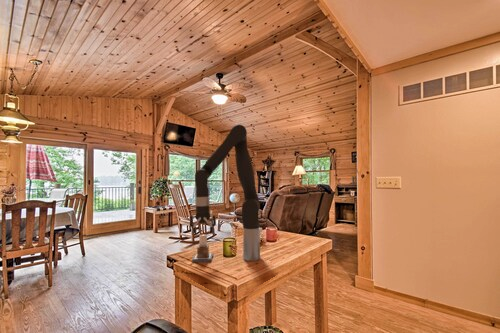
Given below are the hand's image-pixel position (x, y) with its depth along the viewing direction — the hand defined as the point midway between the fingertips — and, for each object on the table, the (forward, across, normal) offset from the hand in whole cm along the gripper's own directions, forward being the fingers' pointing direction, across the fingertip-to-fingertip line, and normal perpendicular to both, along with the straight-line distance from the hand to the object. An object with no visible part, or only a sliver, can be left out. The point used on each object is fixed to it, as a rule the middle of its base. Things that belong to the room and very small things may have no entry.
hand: (203, 233), depth 136 cm
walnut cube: (+12, 0, 0) cm, 12 cm away
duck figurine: (+15, -33, -31) cm, 47 cm away
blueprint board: (+14, 0, 0) cm, 14 cm away
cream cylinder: (+7, 0, 0) cm, 7 cm away
